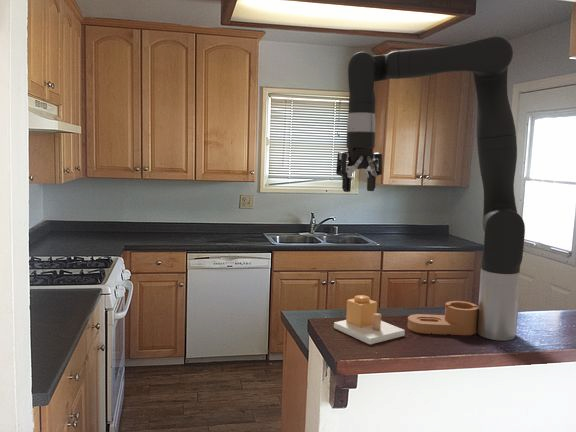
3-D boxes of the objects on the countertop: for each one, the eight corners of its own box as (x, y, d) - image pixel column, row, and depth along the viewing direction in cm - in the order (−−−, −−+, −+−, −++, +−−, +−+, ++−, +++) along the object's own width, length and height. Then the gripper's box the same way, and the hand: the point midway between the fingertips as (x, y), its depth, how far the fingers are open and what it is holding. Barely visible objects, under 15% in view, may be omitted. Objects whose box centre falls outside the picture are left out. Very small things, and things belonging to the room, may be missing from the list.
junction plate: (367, 320, 144) (368, 301, 144) (404, 335, 133) (405, 314, 132) (333, 327, 138) (334, 307, 137) (369, 344, 126) (370, 322, 125)
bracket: (471, 326, 142) (473, 301, 141) (480, 336, 134) (482, 310, 133) (405, 323, 143) (406, 299, 142) (410, 333, 135) (411, 307, 134)
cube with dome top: (361, 318, 141) (362, 293, 140) (376, 324, 137) (377, 298, 136) (346, 321, 138) (347, 296, 137) (360, 327, 134) (361, 301, 133)
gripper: (349, 129, 131) (347, 193, 133) (390, 131, 139) (387, 191, 141) (331, 130, 137) (329, 191, 139) (371, 132, 145) (369, 189, 147)
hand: (358, 191), depth 140 cm, fingers open, 8 cm apart
